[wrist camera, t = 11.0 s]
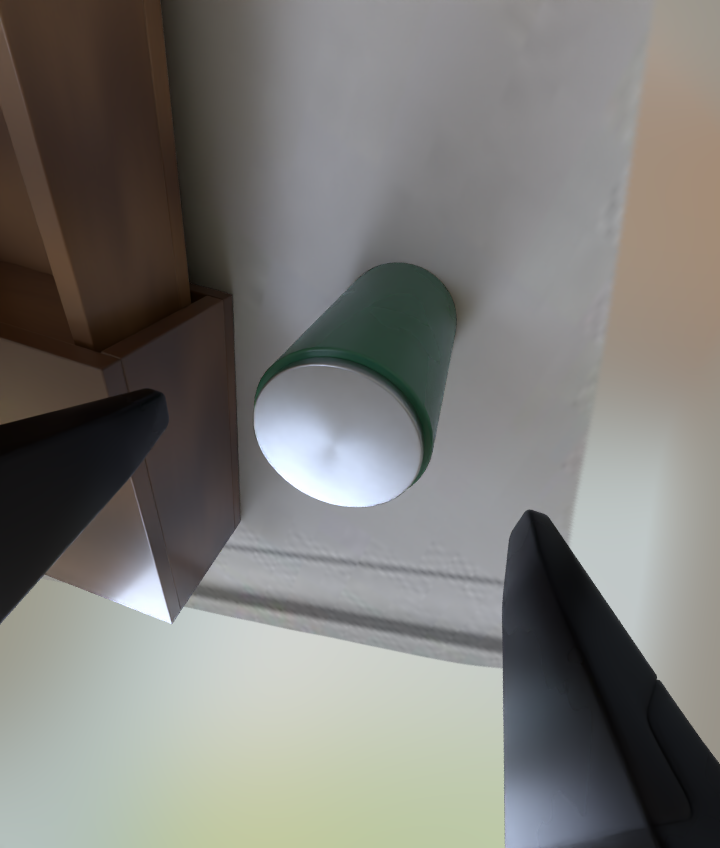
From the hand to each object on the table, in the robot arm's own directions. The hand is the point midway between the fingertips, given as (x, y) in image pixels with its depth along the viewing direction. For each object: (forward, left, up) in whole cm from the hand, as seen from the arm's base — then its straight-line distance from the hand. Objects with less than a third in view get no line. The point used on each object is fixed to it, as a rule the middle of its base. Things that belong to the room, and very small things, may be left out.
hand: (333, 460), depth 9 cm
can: (0, 0, -9) cm, 9 cm away
